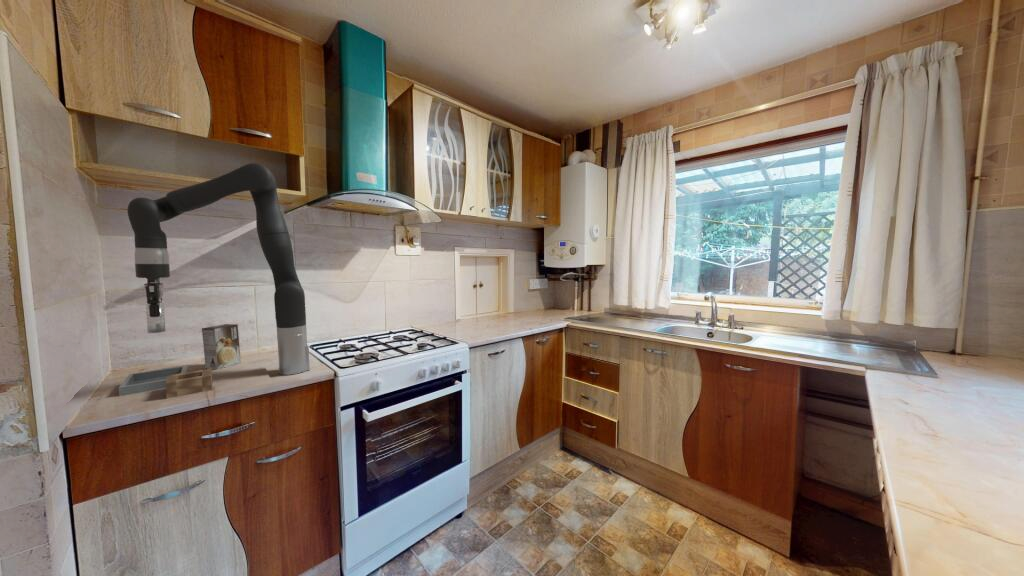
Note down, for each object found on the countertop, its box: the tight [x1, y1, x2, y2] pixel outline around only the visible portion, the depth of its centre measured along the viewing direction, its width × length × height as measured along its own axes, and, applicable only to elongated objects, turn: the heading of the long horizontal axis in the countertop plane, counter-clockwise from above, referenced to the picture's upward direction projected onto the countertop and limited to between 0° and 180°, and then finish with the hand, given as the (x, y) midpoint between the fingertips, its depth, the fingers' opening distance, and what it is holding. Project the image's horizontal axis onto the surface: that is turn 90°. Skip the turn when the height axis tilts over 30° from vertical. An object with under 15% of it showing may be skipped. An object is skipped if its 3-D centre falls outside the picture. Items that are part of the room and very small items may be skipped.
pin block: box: [165, 368, 214, 399], centre depth 106 cm, size 10×10×6 cm
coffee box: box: [201, 323, 242, 370], centre depth 133 cm, size 9×6×16 cm
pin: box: [145, 303, 166, 334], centre depth 109 cm, size 4×4×9 cm
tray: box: [118, 365, 189, 397], centre depth 112 cm, size 14×17×4 cm
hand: (155, 315), depth 109 cm, fingers closed on pin, 4 cm apart
